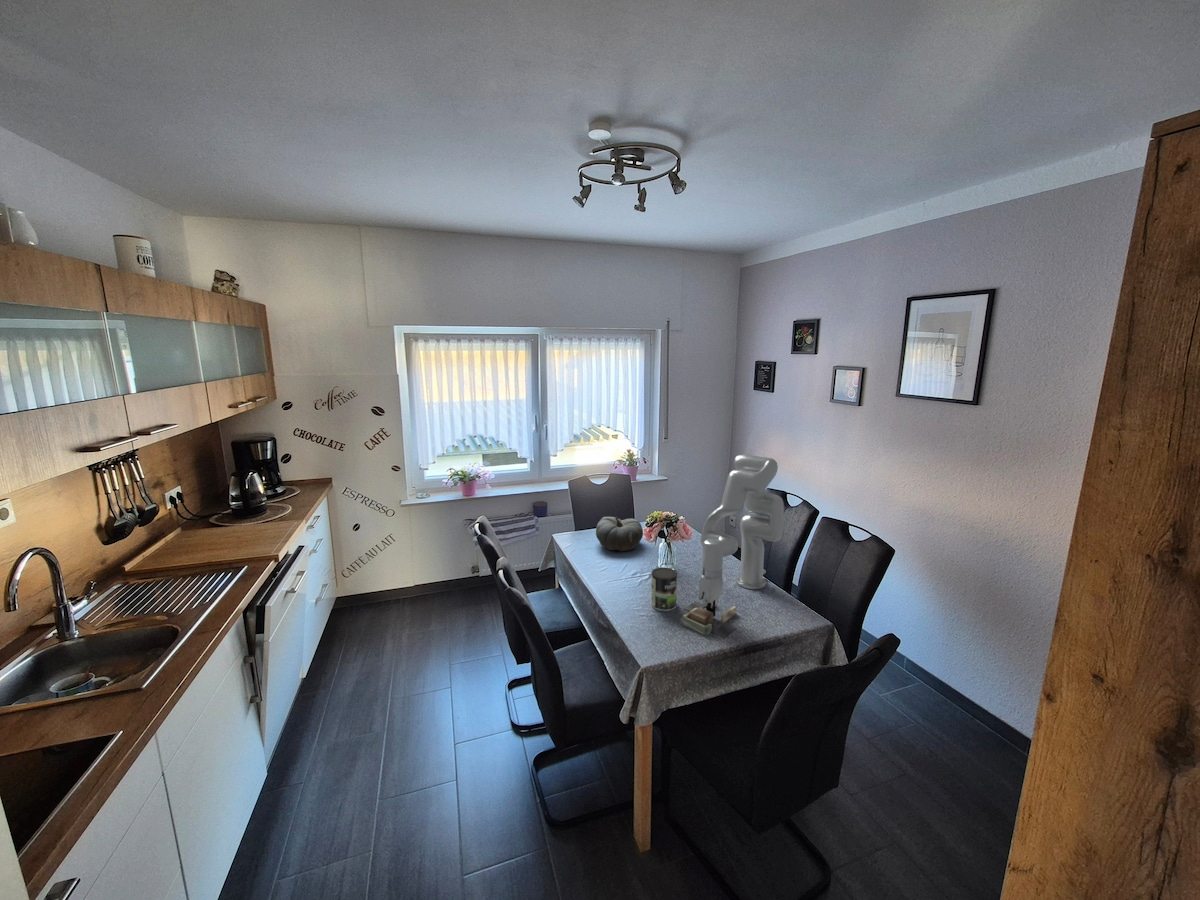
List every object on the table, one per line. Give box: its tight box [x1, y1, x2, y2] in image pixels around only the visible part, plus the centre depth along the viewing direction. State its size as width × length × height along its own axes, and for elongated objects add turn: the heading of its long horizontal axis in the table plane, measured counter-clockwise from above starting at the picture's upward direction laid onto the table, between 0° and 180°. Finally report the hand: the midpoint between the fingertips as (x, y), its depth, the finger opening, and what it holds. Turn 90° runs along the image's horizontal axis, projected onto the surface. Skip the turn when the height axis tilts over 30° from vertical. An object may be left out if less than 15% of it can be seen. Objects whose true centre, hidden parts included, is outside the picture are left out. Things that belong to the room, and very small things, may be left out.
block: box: [690, 607, 714, 626], centre depth 180 cm, size 6×6×5 cm
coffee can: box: [651, 567, 678, 612], centre depth 194 cm, size 10×10×14 cm
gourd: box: [595, 516, 644, 552], centre depth 254 cm, size 25×25×17 cm
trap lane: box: [680, 600, 737, 638], centre depth 184 cm, size 21×22×3 cm
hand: (710, 615), depth 185 cm, fingers closed
